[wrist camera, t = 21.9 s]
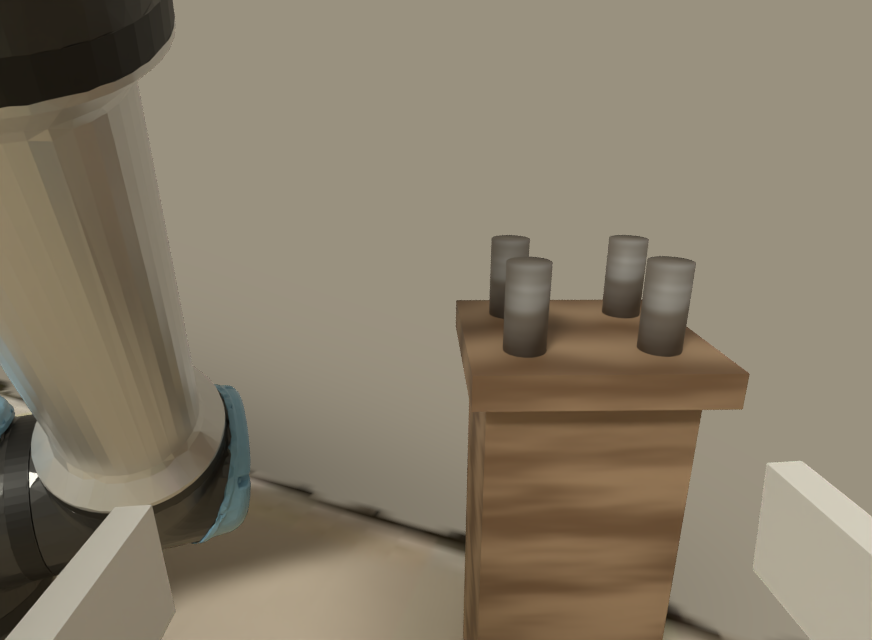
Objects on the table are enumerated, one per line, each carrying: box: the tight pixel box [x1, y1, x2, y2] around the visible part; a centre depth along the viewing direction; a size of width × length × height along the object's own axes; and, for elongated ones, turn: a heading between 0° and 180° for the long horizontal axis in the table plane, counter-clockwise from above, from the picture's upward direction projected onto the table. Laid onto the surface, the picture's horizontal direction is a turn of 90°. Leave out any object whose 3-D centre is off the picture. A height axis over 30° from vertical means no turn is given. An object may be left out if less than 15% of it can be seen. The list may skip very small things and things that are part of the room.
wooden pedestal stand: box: [456, 235, 749, 640], centre depth 39 cm, size 13×14×35 cm
